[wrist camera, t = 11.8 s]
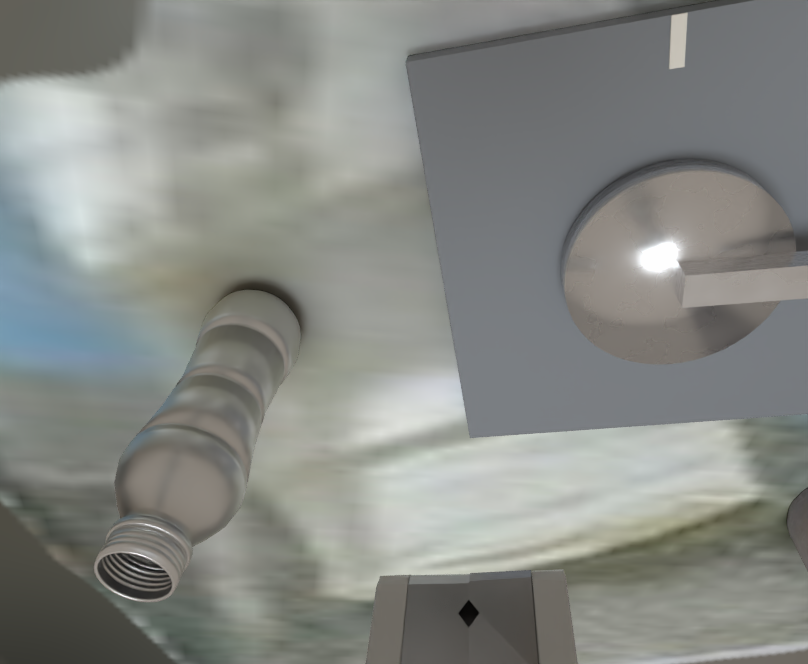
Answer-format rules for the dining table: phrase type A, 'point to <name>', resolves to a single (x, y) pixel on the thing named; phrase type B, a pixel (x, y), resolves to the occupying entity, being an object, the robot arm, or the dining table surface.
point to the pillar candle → (799, 525)
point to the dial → (679, 262)
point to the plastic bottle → (197, 446)
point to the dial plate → (583, 180)
